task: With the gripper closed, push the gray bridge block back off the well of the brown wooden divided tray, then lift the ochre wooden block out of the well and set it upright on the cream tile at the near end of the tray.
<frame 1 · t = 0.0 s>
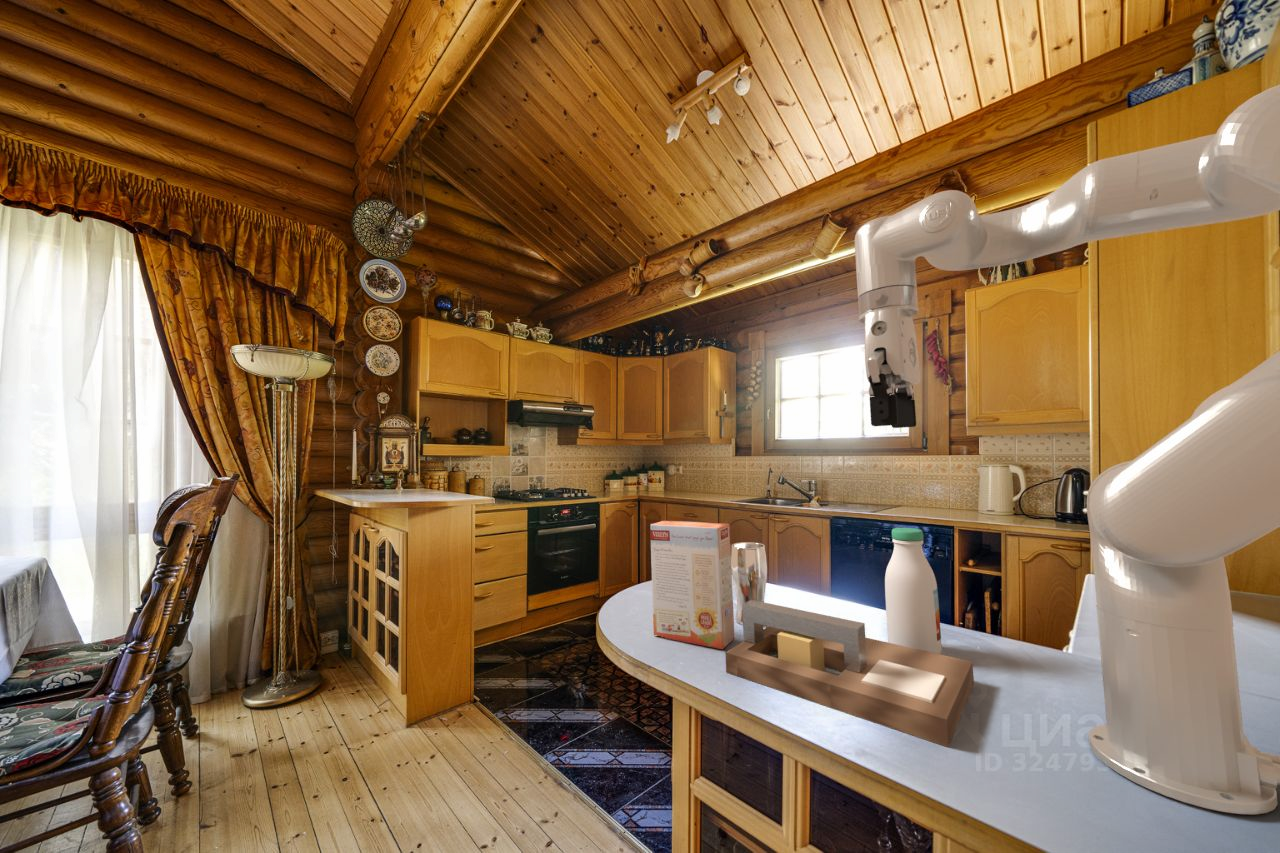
hand: (894, 426, 66), 37 cm above the counter, tool pointing down, fingers open, 9 cm apart
brown wooden divided tray: (845, 677, 70), on the counter
cracker box: (693, 639, 86), on the counter
ochre block: (802, 673, 71), resting in brown wooden divided tray
beer glass: (751, 622, 94), on the counter
gray bridge block: (800, 632, 72), point 6 cm above the counter, slide at 0.0 cm
milk bottle: (914, 652, 78), on the counter
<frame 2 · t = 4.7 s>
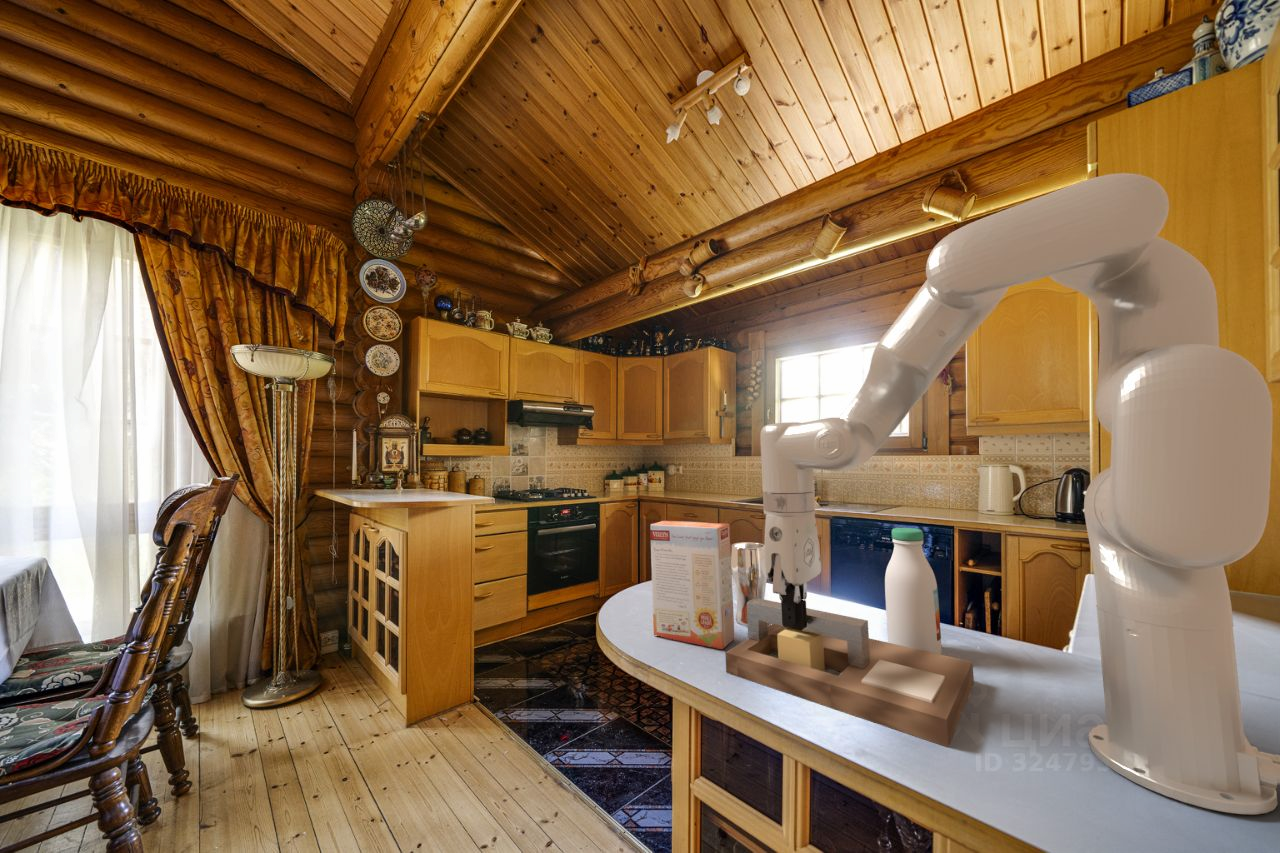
hand: (794, 626, 71), 7 cm above the counter, tool pointing down, fingers closed
gray bridge block: (804, 629, 73), point 6 cm above the counter, slide at 1.5 cm, touching gripper
everything else where it was.
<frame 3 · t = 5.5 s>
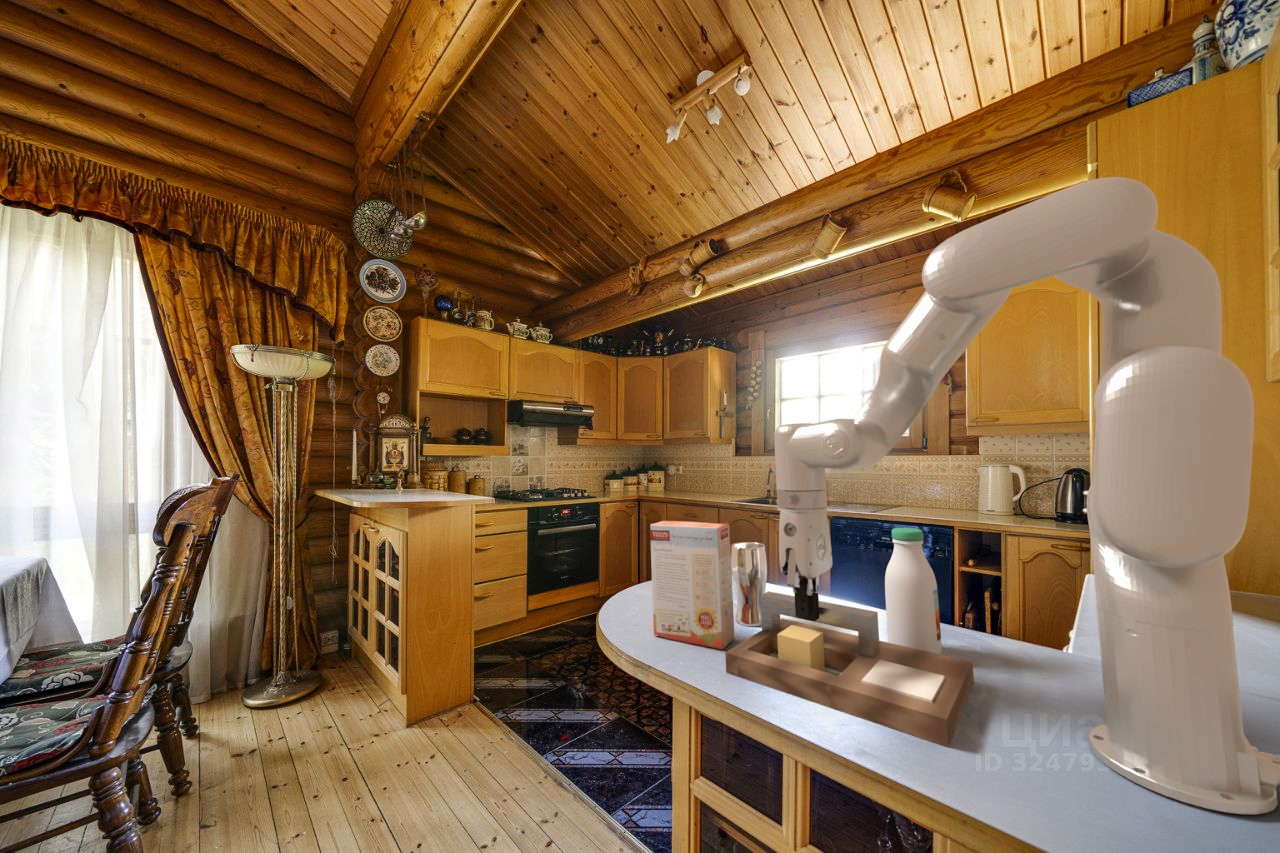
hand: (807, 618, 74), 7 cm above the counter, tool pointing down, fingers closed
gray bridge block: (816, 621, 76), point 6 cm above the counter, slide at 6.1 cm, touching gripper
everything else where it was.
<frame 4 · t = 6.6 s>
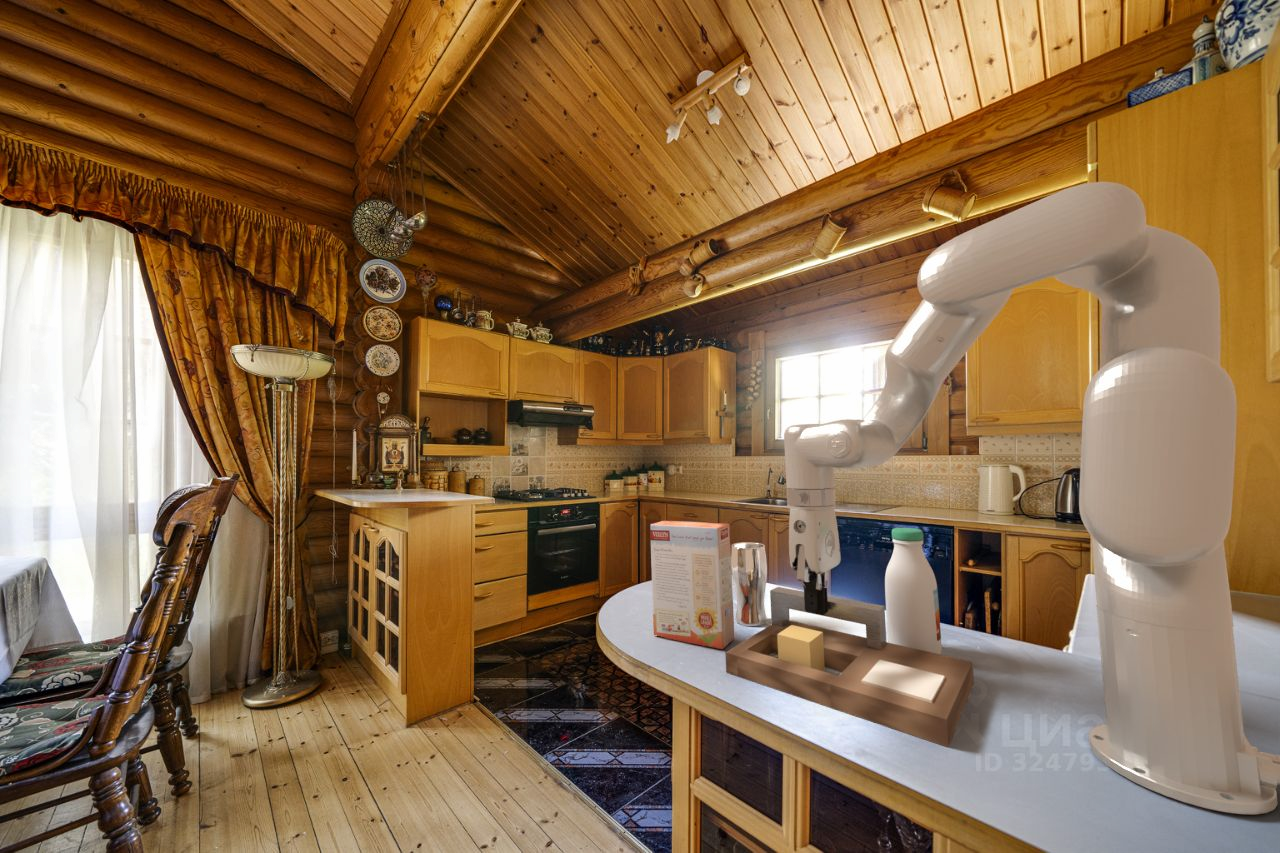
hand: (816, 612, 77), 7 cm above the counter, tool pointing down, fingers closed
gray bridge block: (824, 615, 79), point 6 cm above the counter, slide at 9.7 cm, touching gripper
everything else where it was.
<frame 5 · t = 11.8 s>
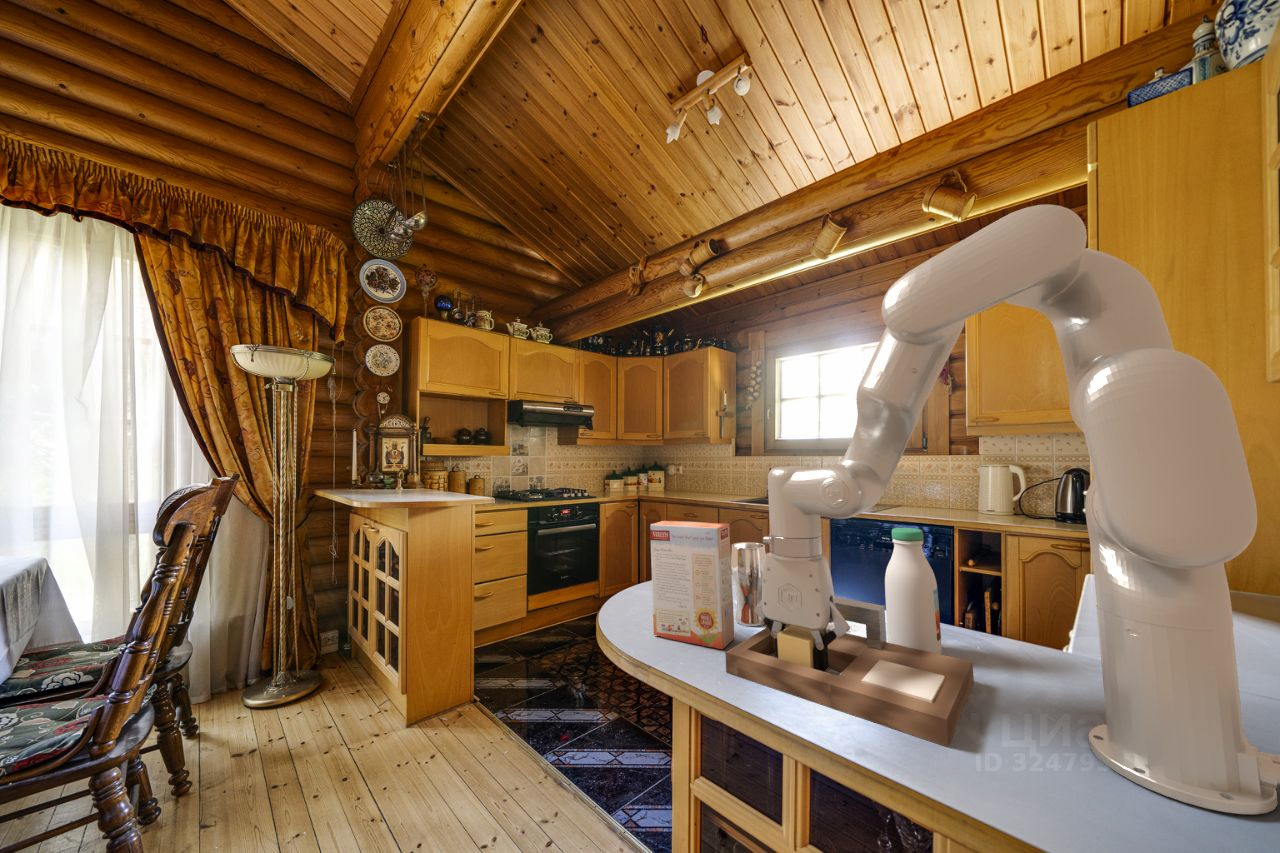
hand: (801, 666, 72), 1 cm above the counter, tool pointing down, fingers closed on ochre block, 4 cm apart
ochre block: (801, 673, 71), resting in brown wooden divided tray, touching gripper
gray bridge block: (824, 615, 79), point 6 cm above the counter, slide at 9.7 cm
everything else where it was.
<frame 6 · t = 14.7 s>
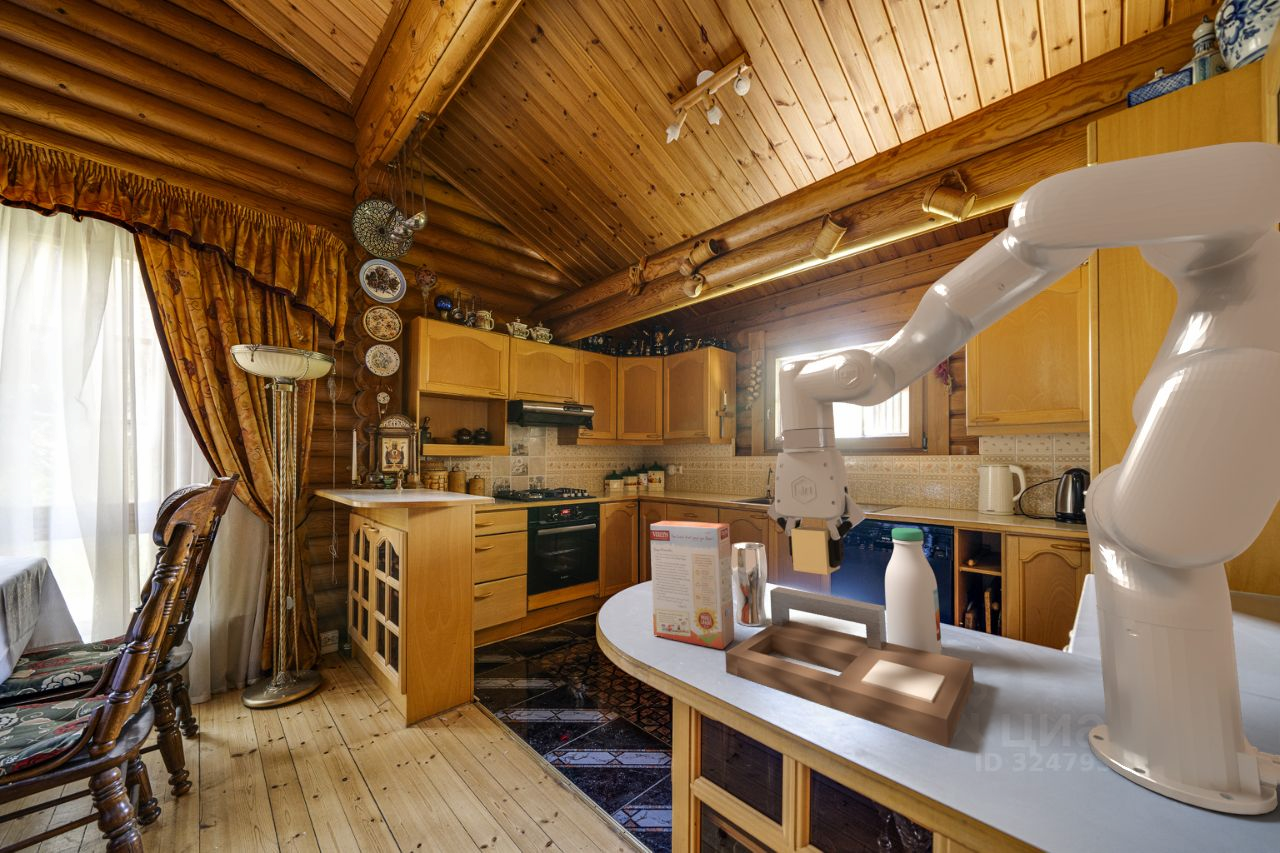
hand: (816, 562, 70), 17 cm above the counter, tool pointing down, fingers closed on ochre block, 4 cm apart
ochre block: (816, 569, 70), point 16 cm above the counter, touching gripper
everything else where it was.
when the fingers open (6 cm above the counter, at t = 17.9 s): ochre block drops 2 cm, resting on brown wooden divided tray.
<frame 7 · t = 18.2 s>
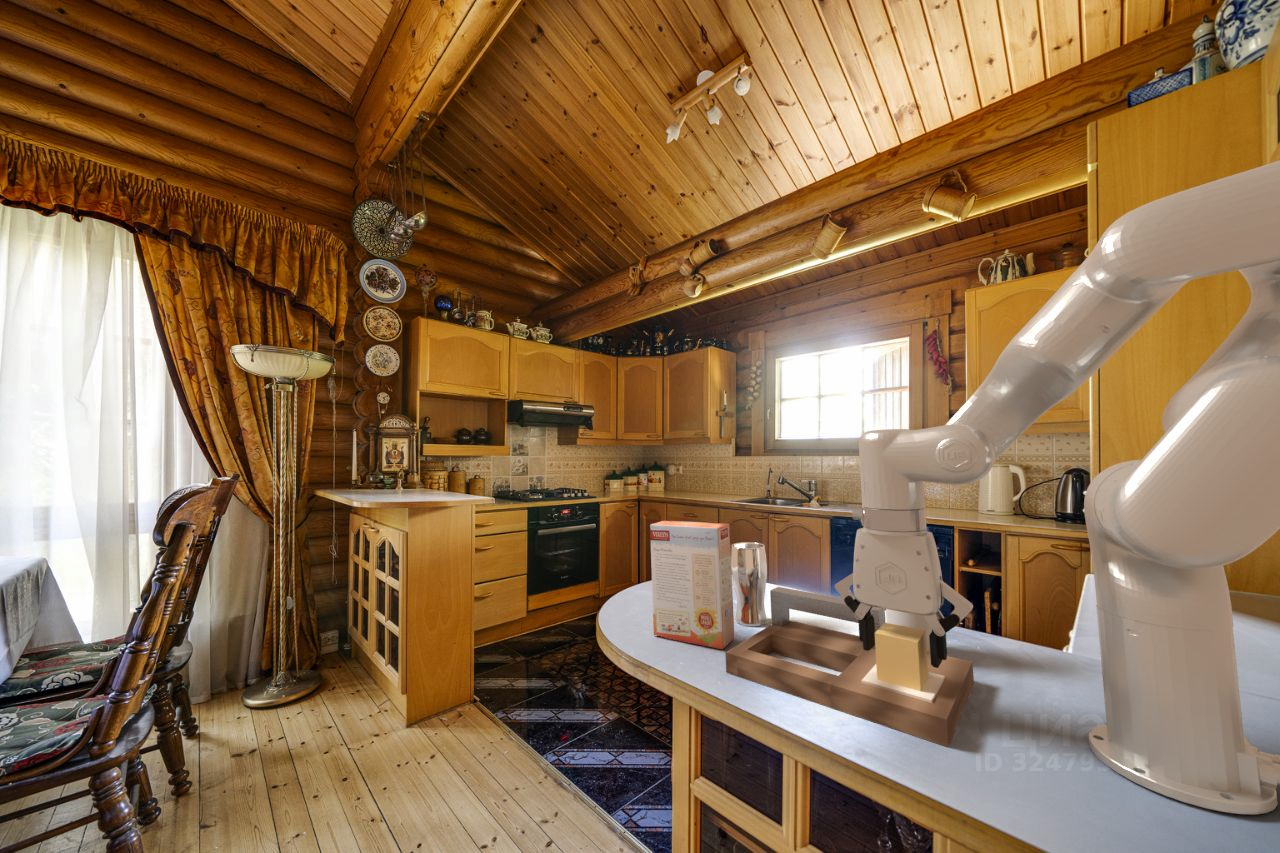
hand: (901, 654, 62), 6 cm above the counter, tool pointing down, fingers open, 7 cm apart
ochre block: (903, 678, 62), point 3 cm above the counter, touching brown wooden divided tray
everything else where it was.
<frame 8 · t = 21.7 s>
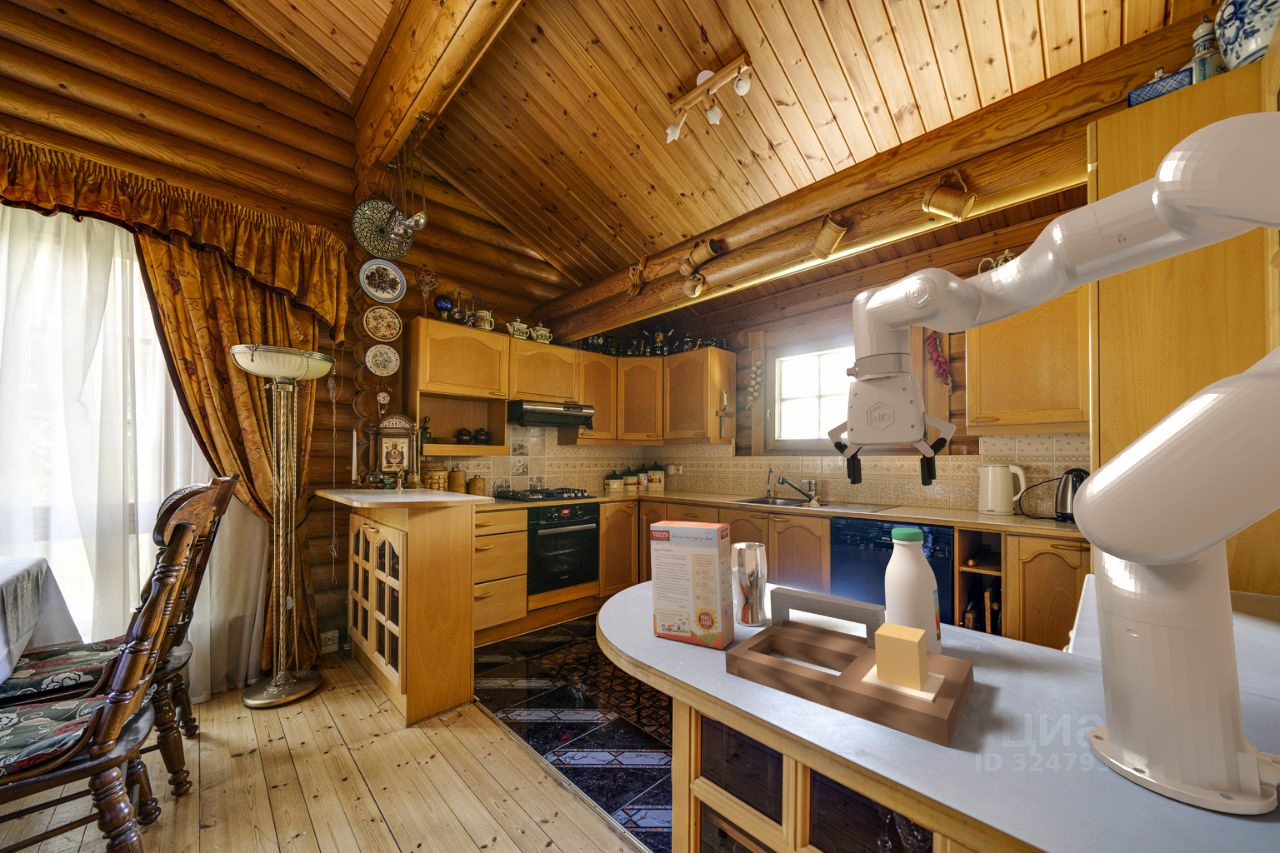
hand: (890, 484, 70), 28 cm above the counter, tool pointing down, fingers open, 9 cm apart
nothing on the counter moved.
at the end: gray bridge block slide at 9.7 cm; ochre block inside the target area (0.0 cm from its centre), point 3.3 cm above the counter; ochre block tilted 0° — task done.
